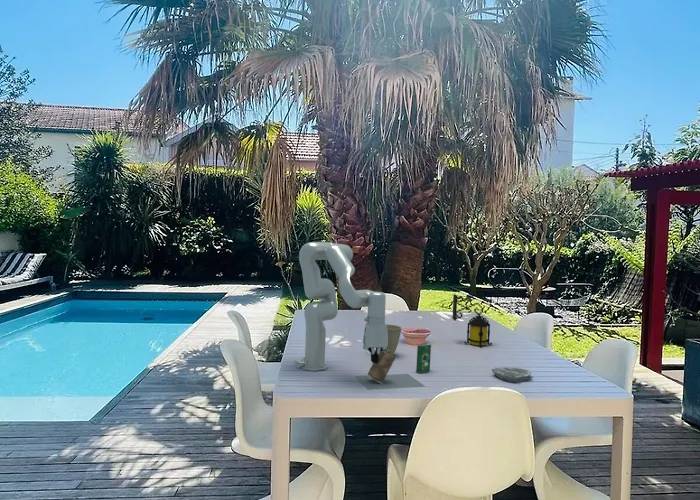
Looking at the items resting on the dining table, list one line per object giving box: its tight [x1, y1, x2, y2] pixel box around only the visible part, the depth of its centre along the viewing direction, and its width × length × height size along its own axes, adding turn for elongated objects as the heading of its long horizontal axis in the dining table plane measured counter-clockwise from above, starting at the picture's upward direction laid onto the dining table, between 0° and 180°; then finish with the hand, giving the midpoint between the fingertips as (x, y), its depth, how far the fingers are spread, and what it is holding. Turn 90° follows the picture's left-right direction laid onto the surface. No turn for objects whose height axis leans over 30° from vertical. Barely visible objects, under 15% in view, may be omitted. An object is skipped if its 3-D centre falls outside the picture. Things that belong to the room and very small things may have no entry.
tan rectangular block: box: [367, 351, 396, 384], centre depth 224 cm, size 5×7×12 cm
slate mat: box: [353, 373, 426, 391], centre depth 225 cm, size 26×20×1 cm
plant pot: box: [384, 323, 402, 357], centre depth 274 cm, size 15×15×16 cm
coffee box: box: [415, 343, 432, 374], centre depth 246 cm, size 8×3×13 cm, turn 137°
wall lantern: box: [452, 294, 493, 349], centre depth 312 cm, size 17×24×30 cm
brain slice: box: [491, 366, 532, 383], centre depth 242 cm, size 20×17×3 cm
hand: (374, 362), depth 223 cm, fingers closed
